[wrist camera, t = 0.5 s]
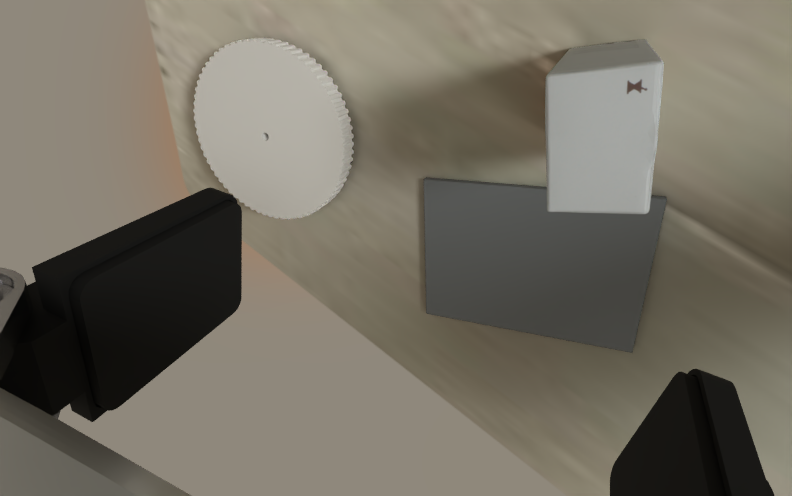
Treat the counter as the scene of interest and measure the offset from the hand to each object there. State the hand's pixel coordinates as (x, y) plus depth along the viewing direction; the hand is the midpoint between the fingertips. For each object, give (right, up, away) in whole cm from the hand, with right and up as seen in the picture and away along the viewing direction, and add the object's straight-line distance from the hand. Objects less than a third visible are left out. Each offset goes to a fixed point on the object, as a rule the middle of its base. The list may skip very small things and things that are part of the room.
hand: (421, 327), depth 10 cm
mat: (+9, +1, +25) cm, 27 cm away
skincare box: (+12, +11, +19) cm, 25 cm away
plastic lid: (-10, +12, +29) cm, 33 cm away
